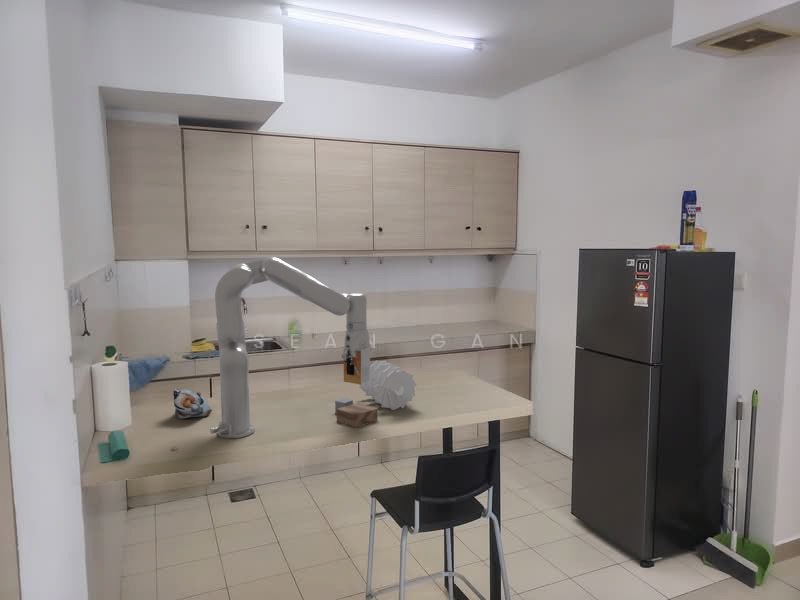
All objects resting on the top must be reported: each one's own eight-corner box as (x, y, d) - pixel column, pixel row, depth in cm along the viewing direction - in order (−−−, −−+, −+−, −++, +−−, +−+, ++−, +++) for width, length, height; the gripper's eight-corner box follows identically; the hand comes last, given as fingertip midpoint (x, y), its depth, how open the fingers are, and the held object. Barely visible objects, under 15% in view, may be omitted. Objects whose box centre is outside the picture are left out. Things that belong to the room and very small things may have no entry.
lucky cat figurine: (218, 413, 215) (211, 388, 206) (193, 432, 207) (185, 407, 199) (194, 397, 222) (187, 372, 214) (169, 415, 214) (160, 389, 206)
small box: (343, 382, 206) (343, 348, 204) (352, 378, 211) (352, 345, 210) (361, 385, 202) (361, 350, 200) (370, 381, 207) (370, 347, 206)
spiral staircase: (384, 404, 241) (409, 418, 219) (350, 391, 234) (373, 404, 211) (399, 365, 244) (426, 375, 221) (366, 352, 236) (390, 361, 214)
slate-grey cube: (344, 415, 214) (344, 403, 213) (335, 413, 217) (335, 400, 216) (353, 412, 218) (353, 400, 217) (343, 409, 221) (343, 397, 220)
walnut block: (356, 428, 200) (356, 415, 199) (336, 421, 207) (336, 408, 207) (377, 421, 208) (377, 408, 207) (357, 414, 215) (357, 402, 215)
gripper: (348, 330, 195) (349, 378, 197) (378, 324, 209) (378, 369, 211) (333, 328, 199) (334, 375, 201) (363, 322, 213) (363, 366, 215)
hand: (356, 372), depth 206 cm, fingers closed on small box, 6 cm apart
